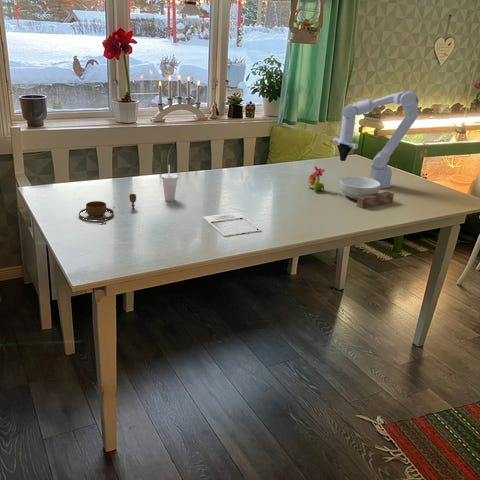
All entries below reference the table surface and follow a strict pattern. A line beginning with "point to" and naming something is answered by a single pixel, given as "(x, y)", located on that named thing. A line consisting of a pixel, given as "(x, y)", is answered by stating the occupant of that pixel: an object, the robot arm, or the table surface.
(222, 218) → the photo frame
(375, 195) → the block
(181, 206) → the table surface
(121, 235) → the table surface
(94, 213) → the place setting
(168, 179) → the smoothie
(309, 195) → the table surface
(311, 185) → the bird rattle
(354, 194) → the cereal bowl
